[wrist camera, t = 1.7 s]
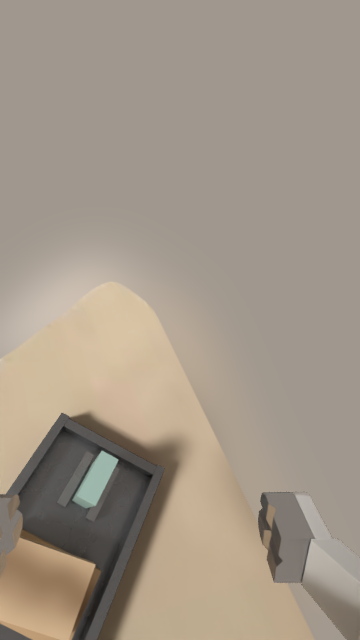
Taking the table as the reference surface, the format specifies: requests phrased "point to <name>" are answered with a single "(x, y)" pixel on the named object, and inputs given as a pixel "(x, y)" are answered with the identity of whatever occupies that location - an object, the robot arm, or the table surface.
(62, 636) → the offcut stack
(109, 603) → the tray
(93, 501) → the sage board
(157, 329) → the table surface
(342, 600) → the robot arm
